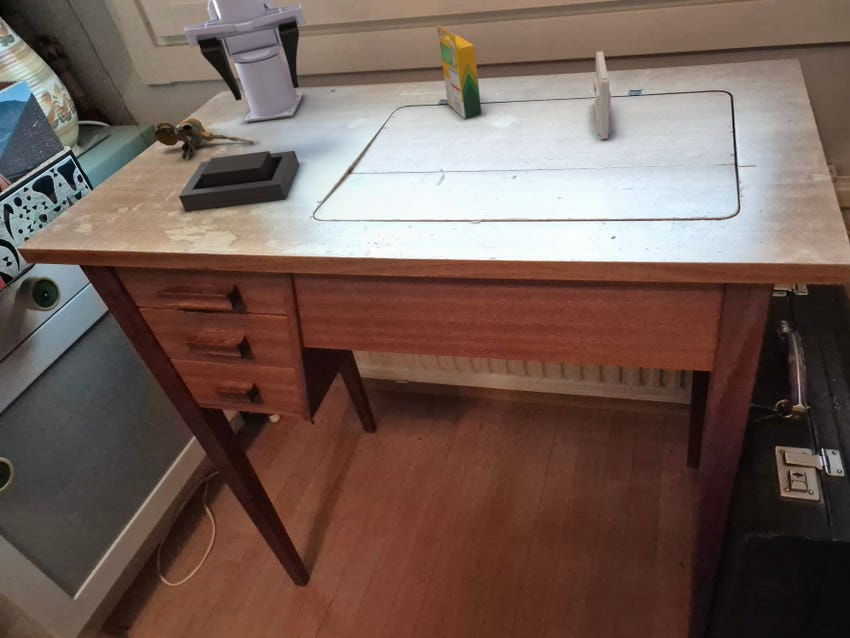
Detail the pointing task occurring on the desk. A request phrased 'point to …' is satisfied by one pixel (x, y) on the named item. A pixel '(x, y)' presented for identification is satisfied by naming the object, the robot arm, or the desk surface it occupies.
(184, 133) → the regulator
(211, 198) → the dark grey rectangular tray
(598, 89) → the cassette
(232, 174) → the dark grey block
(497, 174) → the desk surface
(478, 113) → the crayon box
